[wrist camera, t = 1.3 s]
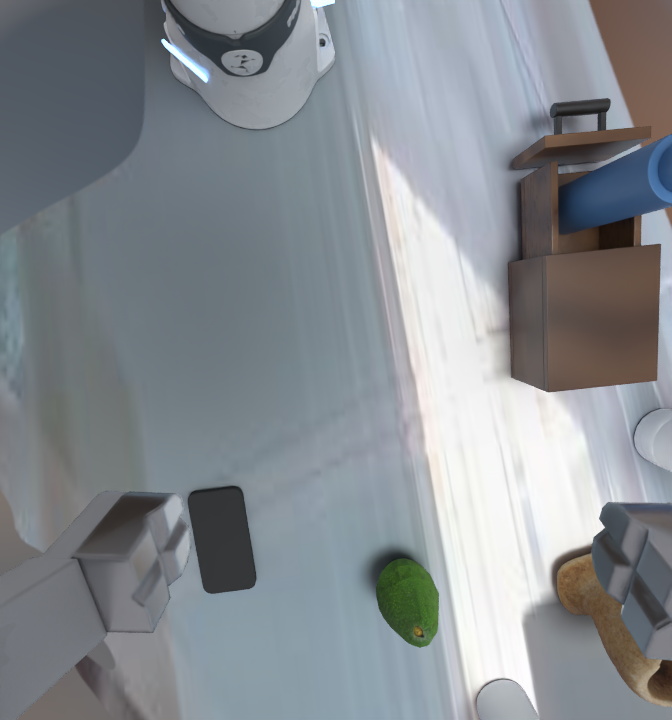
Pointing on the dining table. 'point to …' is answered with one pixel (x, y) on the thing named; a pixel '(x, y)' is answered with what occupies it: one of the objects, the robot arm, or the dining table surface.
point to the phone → (222, 539)
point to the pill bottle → (505, 702)
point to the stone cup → (613, 631)
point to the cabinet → (585, 318)
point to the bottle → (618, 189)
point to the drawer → (545, 181)
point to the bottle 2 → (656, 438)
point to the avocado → (409, 601)
